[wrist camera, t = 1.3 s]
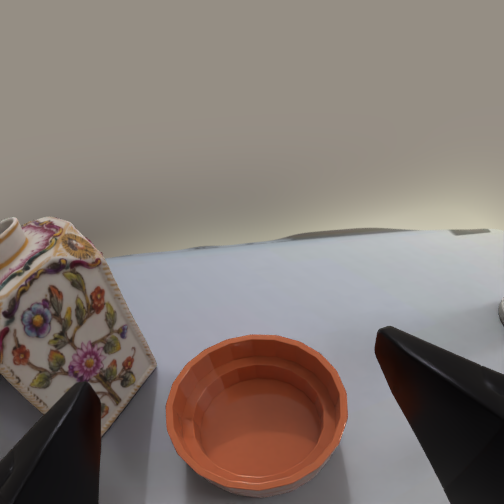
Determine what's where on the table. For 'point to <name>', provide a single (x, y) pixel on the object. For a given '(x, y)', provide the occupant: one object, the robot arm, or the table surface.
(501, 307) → the travel mug
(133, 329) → the decorative jar
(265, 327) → the table surface
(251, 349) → the orange round container
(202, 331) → the table surface
